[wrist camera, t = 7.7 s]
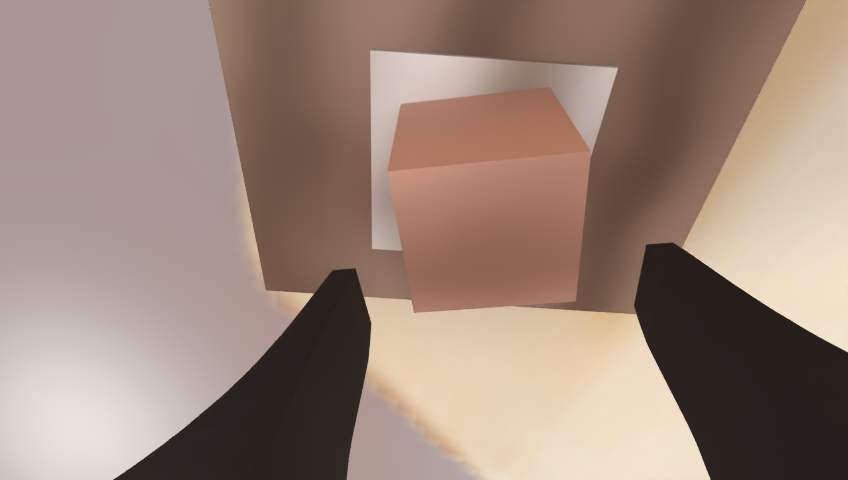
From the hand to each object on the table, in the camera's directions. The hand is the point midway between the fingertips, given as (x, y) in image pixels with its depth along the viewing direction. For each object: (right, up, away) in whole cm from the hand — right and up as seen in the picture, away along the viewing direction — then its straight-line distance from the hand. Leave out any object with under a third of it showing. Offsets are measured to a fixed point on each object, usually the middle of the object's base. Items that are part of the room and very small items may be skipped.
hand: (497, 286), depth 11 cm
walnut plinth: (0, +5, +7) cm, 9 cm away
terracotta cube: (0, +4, +5) cm, 7 cm away
